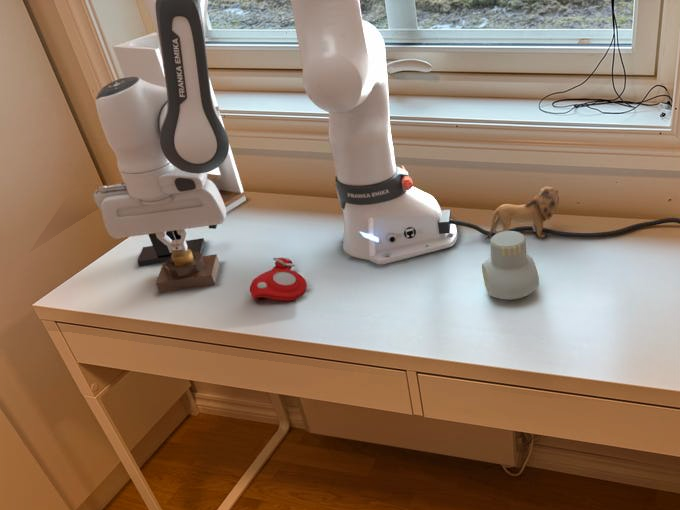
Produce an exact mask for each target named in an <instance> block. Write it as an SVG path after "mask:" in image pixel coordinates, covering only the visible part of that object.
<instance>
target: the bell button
mask: <svg viewBox="0 0 680 510" xmlns="http://www.w3.org/2000/svg"><path fill="white" fill-rule="evenodd" d="M171 257H172V260H173V262H174V265H175V266H182V265H186V264H189V263H191V262H192V261H194V257H193V254H192V252H191V250H190V249H187V251H181V252H174V253H173V254H172V255H171Z"/></svg>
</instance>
